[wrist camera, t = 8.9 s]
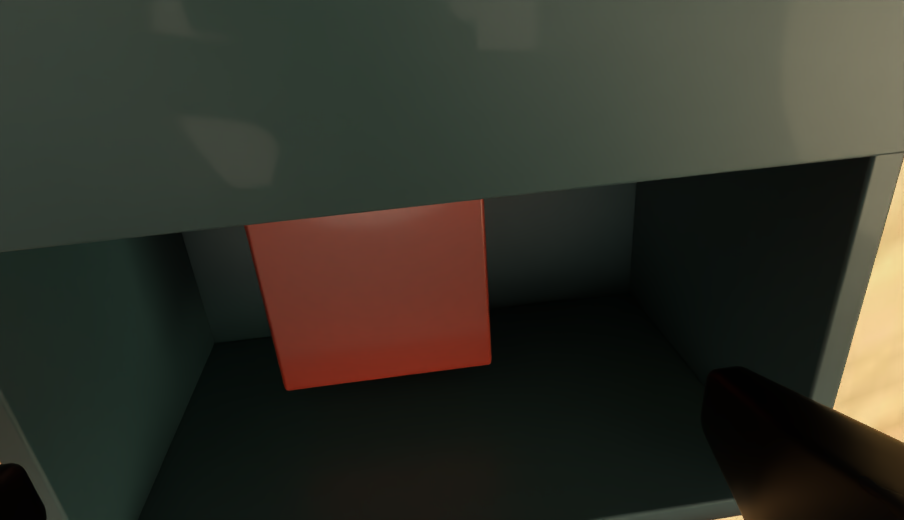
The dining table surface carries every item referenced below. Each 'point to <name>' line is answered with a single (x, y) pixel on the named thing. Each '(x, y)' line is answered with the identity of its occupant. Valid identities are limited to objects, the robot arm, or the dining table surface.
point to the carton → (418, 184)
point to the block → (375, 293)
